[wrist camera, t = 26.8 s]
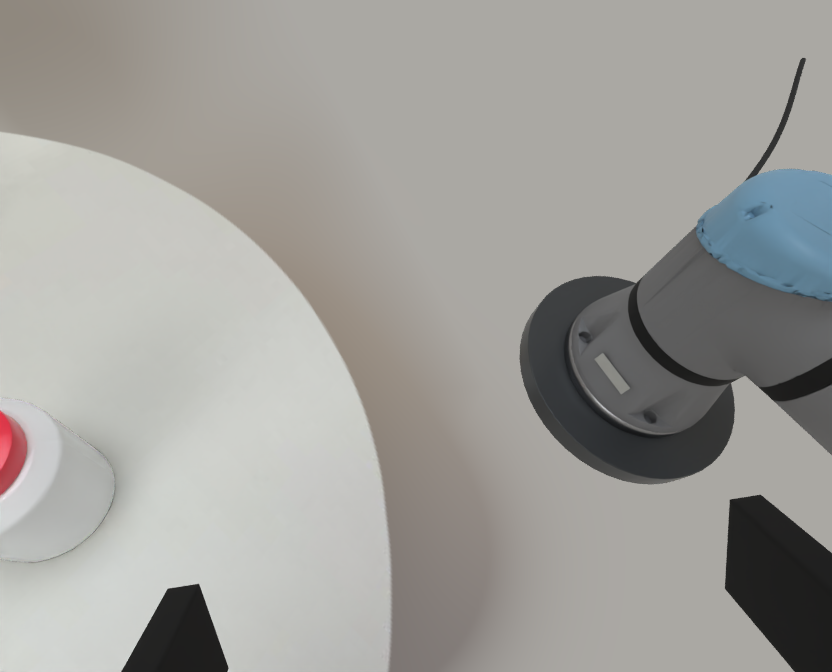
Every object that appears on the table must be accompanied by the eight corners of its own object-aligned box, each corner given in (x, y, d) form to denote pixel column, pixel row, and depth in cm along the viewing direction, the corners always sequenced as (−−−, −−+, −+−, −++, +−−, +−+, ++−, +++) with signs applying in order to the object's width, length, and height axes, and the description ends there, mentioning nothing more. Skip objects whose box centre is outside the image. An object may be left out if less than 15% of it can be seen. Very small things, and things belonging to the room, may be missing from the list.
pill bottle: (-27, 466, 32) (-166, 408, 22) (104, 425, 35) (29, 358, 25) (-17, 585, 29) (-172, 576, 20) (125, 530, 32) (49, 499, 22)
